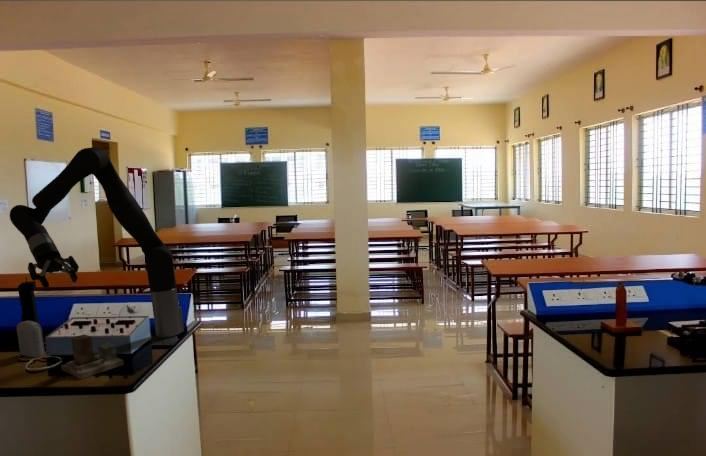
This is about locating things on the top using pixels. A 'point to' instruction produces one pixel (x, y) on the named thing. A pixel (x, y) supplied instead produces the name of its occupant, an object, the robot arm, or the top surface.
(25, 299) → the portable radio
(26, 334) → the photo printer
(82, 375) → the base board
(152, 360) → the top surface
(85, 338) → the walnut block
